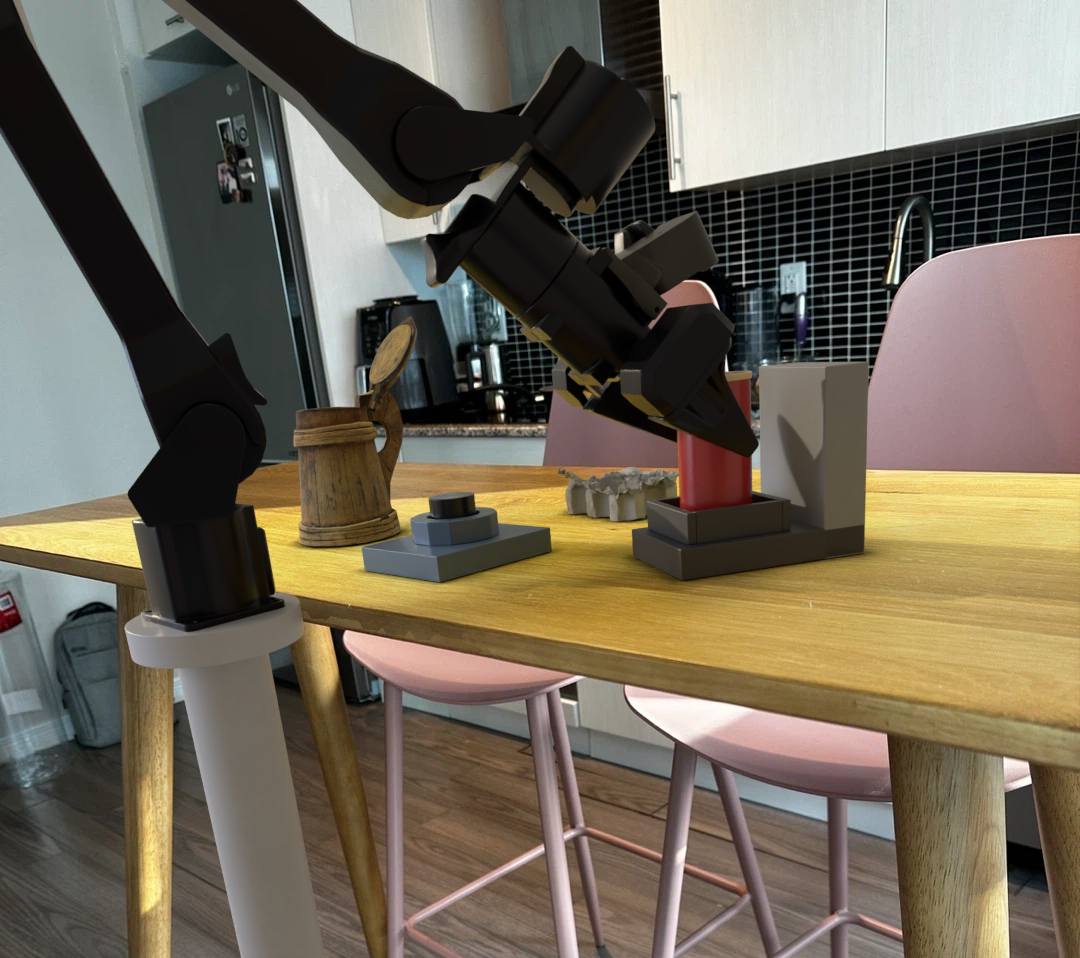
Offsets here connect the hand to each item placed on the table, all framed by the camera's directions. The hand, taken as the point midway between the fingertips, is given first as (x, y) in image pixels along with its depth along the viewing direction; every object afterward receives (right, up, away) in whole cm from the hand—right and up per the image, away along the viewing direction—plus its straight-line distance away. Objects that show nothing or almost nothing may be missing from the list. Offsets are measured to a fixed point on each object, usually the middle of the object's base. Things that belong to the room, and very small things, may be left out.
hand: (721, 445), depth 68 cm
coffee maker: (+2, -7, +3) cm, 8 cm away
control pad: (-18, -6, +10) cm, 21 cm away
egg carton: (-5, 0, +25) cm, 25 cm away
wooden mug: (-27, -1, +26) cm, 37 cm away
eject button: (-18, -3, +9) cm, 21 cm away
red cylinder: (0, -5, +2) cm, 6 cm away
